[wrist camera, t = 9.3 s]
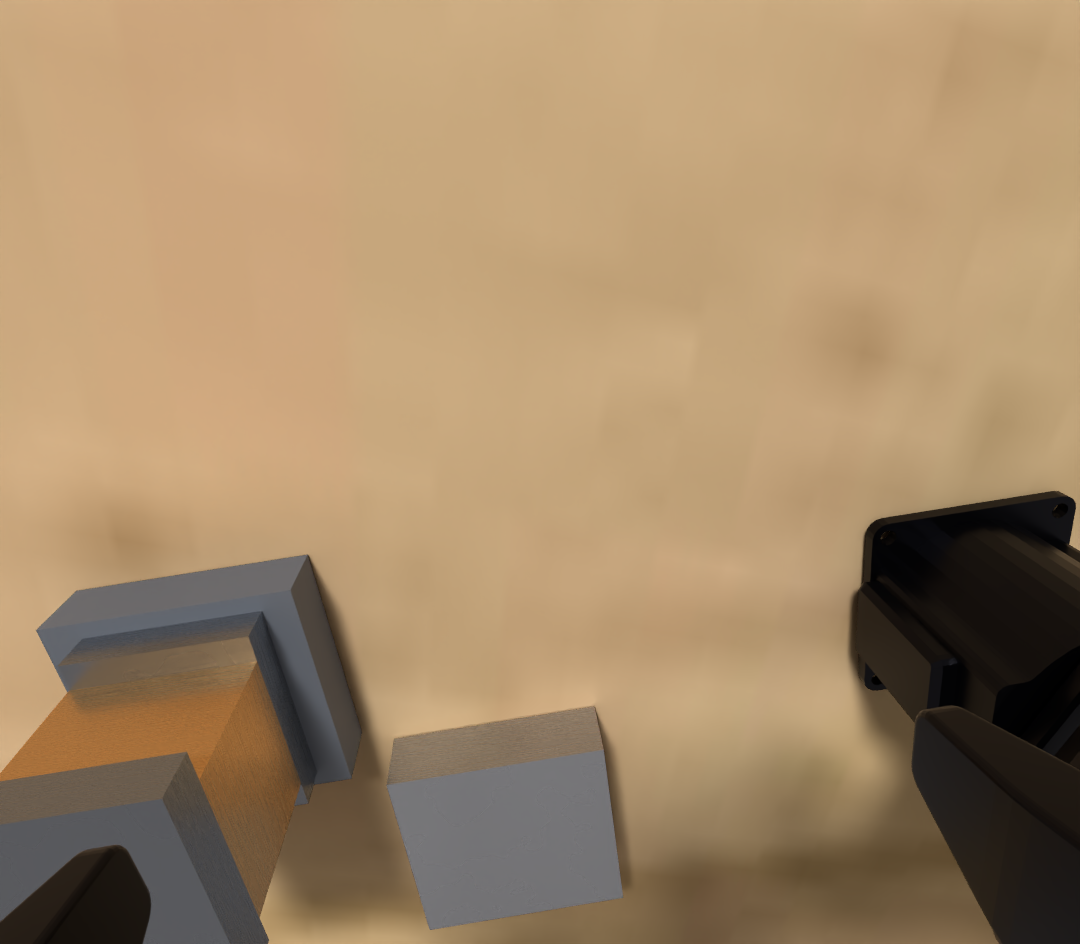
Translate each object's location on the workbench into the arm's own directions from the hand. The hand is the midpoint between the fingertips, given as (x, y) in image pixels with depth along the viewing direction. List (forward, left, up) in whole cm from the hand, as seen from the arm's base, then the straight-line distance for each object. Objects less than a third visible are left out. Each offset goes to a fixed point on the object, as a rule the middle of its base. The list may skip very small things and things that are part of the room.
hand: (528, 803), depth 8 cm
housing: (+10, +6, -11) cm, 16 cm away
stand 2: (+2, +14, -13) cm, 19 cm away
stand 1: (+10, +6, -13) cm, 18 cm away
